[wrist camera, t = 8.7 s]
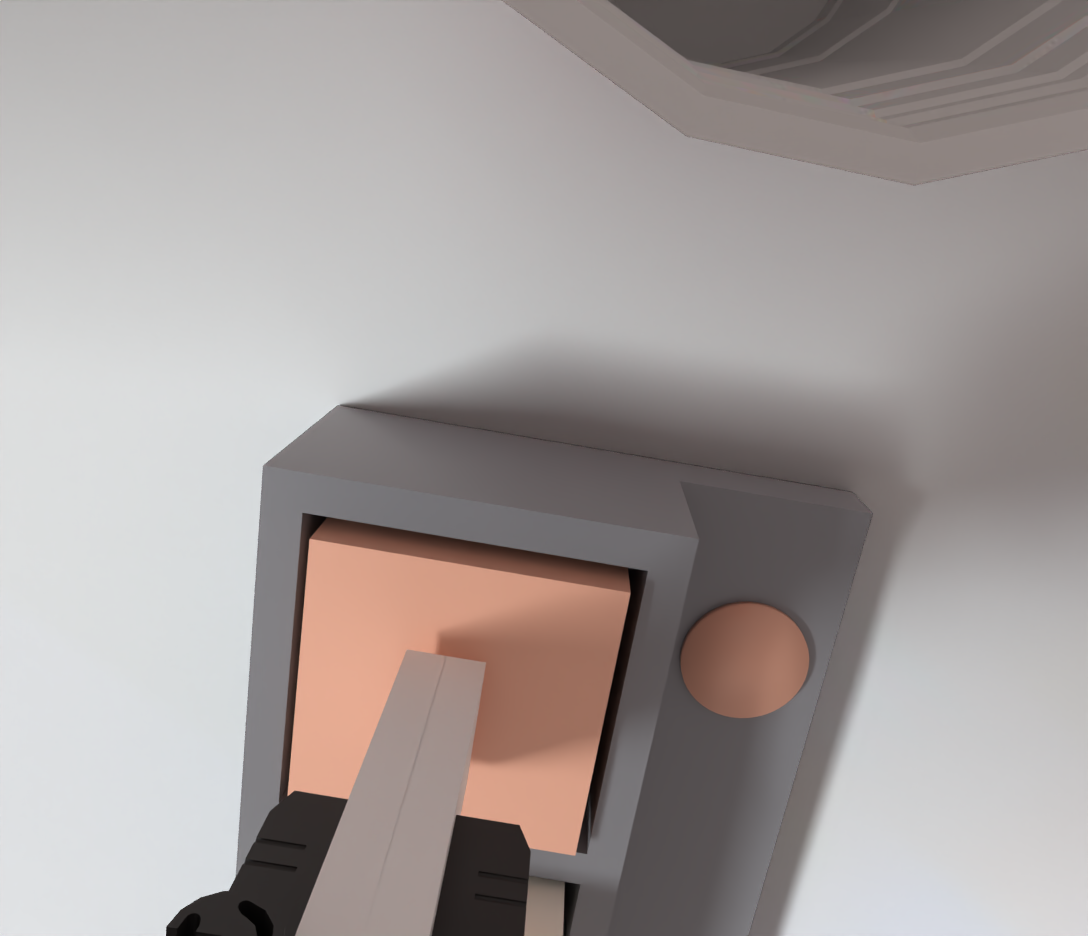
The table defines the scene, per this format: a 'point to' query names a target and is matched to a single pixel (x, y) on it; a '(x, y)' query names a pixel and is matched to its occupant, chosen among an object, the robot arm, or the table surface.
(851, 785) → the table surface
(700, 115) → the plastic cup
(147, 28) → the table surface
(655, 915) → the keypad
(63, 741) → the table surface
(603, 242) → the table surface
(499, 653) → the terracotta key
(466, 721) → the robot arm
